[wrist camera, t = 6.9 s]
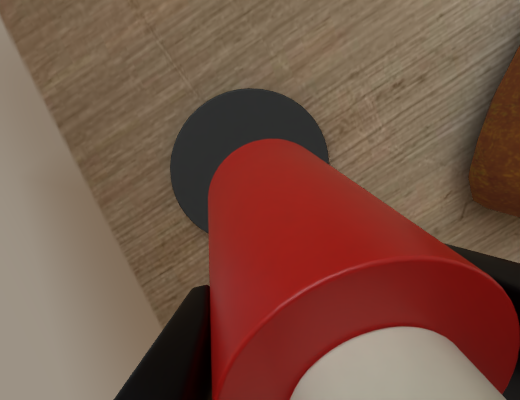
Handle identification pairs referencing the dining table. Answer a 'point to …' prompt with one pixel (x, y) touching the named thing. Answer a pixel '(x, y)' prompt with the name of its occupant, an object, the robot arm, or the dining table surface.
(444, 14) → the dining table surface
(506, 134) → the bread
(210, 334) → the robot arm
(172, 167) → the disc
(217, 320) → the ketchup bottle
